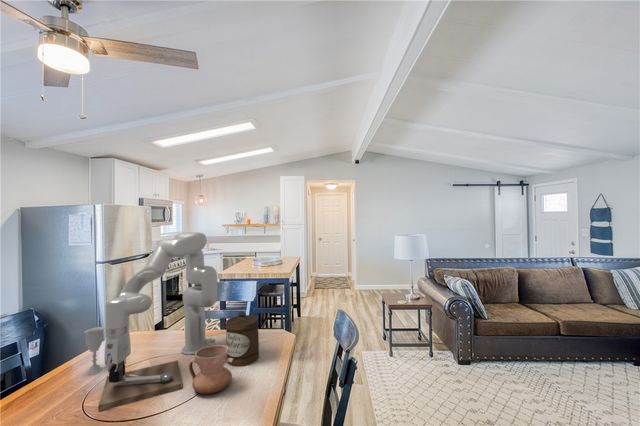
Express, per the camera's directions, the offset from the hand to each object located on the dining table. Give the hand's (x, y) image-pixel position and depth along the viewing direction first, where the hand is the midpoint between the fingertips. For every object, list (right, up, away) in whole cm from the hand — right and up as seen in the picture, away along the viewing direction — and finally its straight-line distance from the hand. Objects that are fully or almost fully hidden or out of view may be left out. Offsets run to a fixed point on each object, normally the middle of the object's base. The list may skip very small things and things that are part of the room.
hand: (117, 378), depth 113 cm
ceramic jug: (+36, -4, +1) cm, 36 cm away
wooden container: (+42, -5, +24) cm, 49 cm away
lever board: (+8, -5, +4) cm, 10 cm away
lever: (+9, -2, +1) cm, 9 cm away
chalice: (-20, -6, +15) cm, 26 cm away
